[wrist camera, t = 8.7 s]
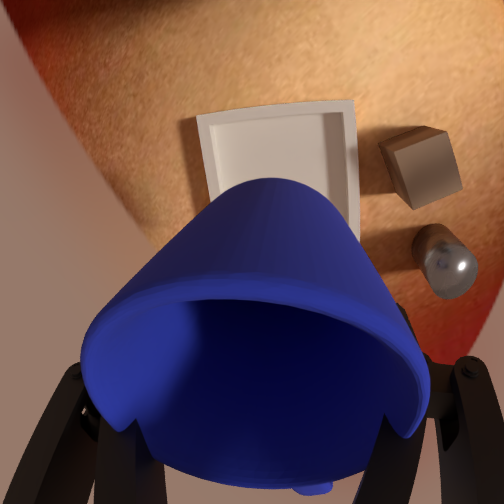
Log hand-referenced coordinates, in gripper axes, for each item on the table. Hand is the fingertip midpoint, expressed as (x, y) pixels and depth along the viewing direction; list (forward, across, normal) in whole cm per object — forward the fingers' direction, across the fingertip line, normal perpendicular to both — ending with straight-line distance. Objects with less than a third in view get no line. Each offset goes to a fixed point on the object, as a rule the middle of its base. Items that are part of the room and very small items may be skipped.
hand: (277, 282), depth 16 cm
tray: (+15, 0, 0) cm, 15 cm away
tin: (+15, +15, -6) cm, 22 cm away
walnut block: (+15, +12, +3) cm, 19 cm away
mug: (0, 0, 0) cm, 1 cm away
